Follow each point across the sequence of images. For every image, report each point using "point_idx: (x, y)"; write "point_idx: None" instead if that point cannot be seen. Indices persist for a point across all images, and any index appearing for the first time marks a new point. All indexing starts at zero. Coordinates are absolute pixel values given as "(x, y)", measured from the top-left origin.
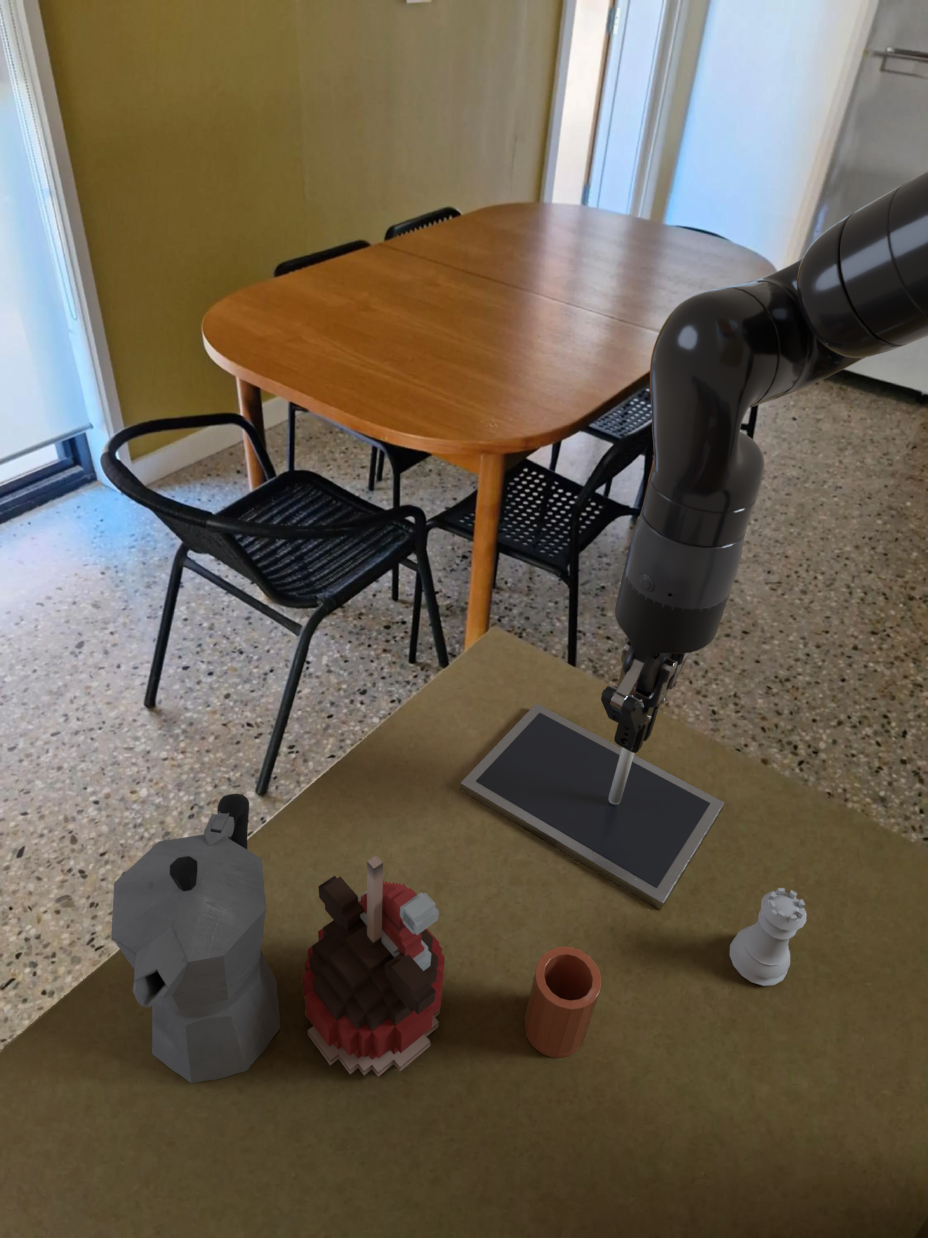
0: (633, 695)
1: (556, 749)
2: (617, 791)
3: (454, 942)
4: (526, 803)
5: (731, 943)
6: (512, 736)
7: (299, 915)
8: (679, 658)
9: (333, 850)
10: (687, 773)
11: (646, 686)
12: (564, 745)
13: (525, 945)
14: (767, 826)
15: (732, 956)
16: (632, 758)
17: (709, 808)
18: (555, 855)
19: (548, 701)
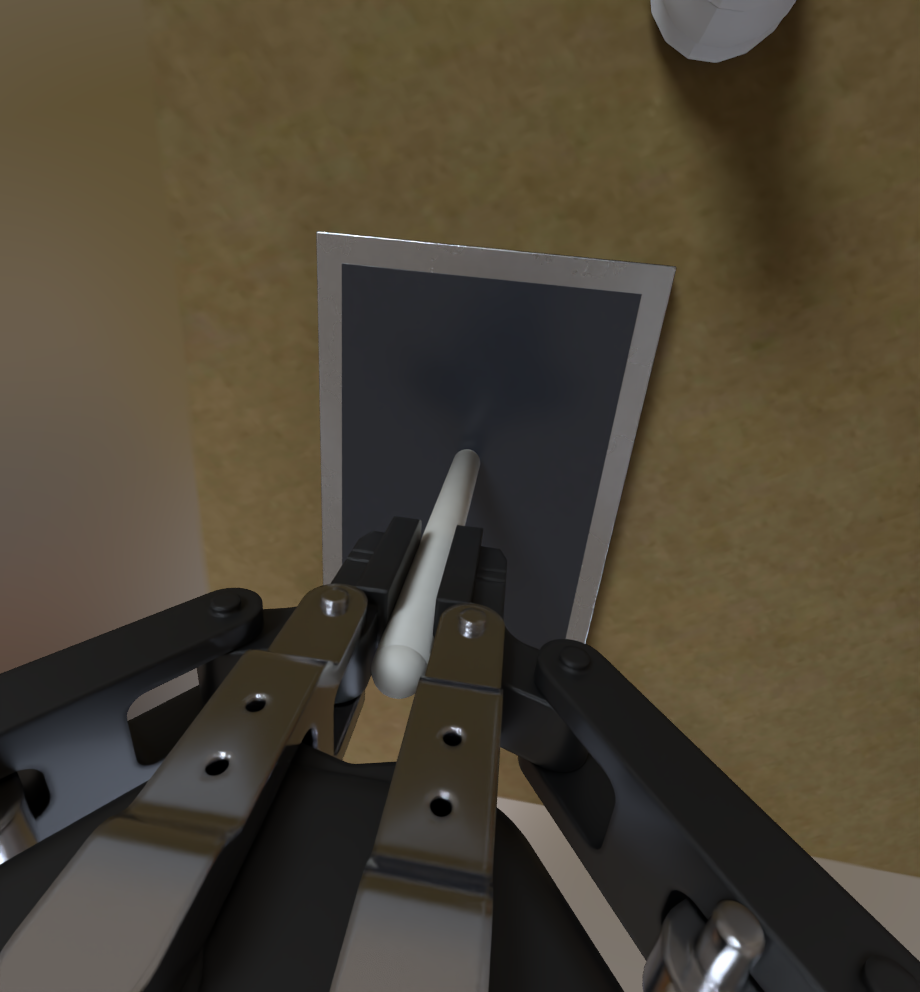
0: (724, 989)
1: None
2: (475, 473)
3: (888, 582)
4: (561, 596)
5: (710, 60)
6: None
7: (909, 775)
8: (199, 912)
9: (773, 780)
10: (280, 343)
11: (597, 955)
12: None
13: (856, 478)
14: (302, 104)
15: (753, 41)
16: (450, 508)
17: (356, 260)
18: (629, 503)
19: None
